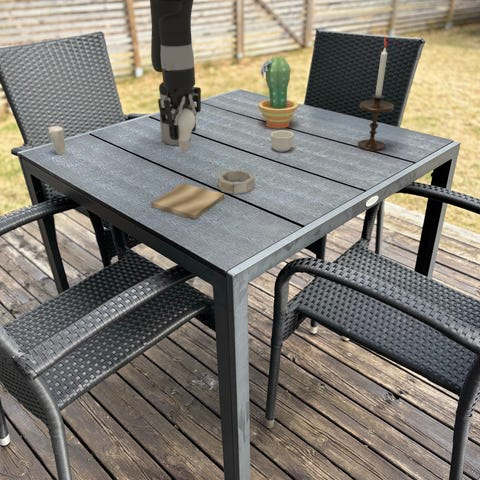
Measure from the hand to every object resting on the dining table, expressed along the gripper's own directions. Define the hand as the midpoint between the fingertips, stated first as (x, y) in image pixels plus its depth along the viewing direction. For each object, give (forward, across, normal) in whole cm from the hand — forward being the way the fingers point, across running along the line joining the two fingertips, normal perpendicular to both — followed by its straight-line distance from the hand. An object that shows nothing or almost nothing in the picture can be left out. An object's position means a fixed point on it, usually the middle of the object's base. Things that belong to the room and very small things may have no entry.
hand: (183, 134), depth 116 cm
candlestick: (+19, -65, +30) cm, 74 cm away
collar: (+19, -15, +6) cm, 25 cm away
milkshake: (+19, -9, -60) cm, 63 cm away
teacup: (+19, -49, +4) cm, 53 cm away
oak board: (+19, 0, 0) cm, 19 cm away
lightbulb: (+4, 0, 0) cm, 4 cm away
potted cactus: (+19, -71, -9) cm, 74 cm away
